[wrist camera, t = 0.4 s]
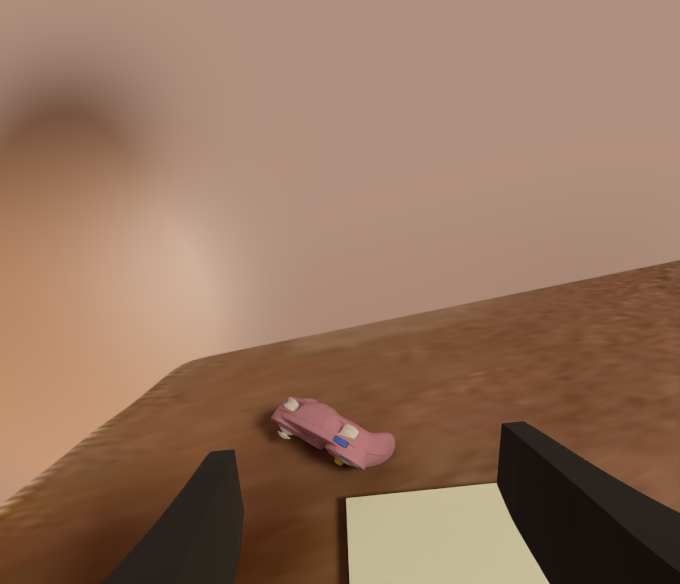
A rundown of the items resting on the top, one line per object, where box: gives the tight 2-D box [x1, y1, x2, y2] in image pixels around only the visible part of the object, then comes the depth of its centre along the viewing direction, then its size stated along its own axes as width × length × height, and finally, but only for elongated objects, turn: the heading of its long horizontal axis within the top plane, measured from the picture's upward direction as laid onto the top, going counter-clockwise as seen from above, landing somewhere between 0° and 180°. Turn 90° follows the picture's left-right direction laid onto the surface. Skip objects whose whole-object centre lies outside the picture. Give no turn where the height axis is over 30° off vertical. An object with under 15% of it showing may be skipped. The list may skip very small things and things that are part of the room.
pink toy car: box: [271, 397, 395, 470], centre depth 35 cm, size 10×5×7 cm, turn 53°
